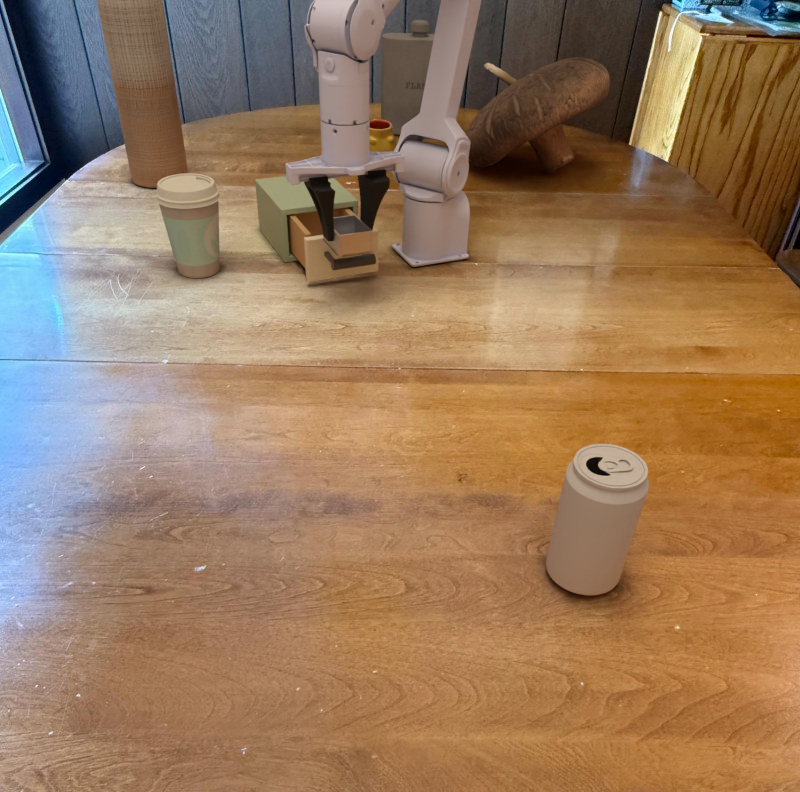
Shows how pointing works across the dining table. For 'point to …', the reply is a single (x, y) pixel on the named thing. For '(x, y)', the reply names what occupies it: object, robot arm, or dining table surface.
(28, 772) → the dining table surface
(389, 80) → the flask
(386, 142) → the mug
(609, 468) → the beverage can
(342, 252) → the open box
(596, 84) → the brown fungus
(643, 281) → the dining table surface
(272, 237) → the cabinet
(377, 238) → the drawer
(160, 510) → the dining table surface
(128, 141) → the vase
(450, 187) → the robot arm
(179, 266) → the coffee cup
